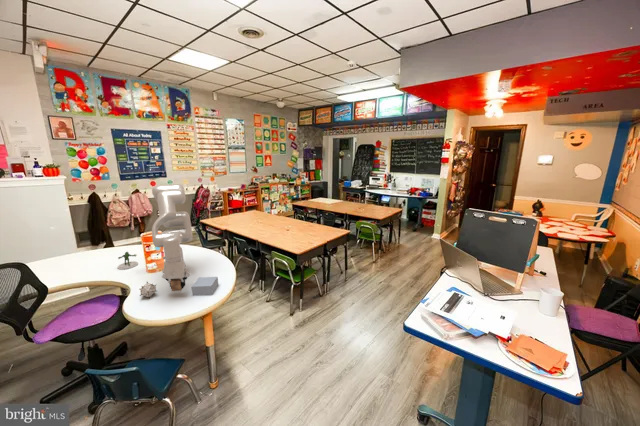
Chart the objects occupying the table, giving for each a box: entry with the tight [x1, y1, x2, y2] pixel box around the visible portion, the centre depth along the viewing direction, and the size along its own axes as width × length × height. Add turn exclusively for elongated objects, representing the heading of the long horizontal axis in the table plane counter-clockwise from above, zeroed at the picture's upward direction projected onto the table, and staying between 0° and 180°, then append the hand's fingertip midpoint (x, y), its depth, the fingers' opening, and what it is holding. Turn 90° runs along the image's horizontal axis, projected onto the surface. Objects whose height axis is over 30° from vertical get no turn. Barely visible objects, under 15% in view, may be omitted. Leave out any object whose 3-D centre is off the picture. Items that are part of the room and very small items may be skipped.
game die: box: [138, 281, 157, 299], centre depth 142 cm, size 9×8×10 cm
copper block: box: [169, 279, 183, 292], centre depth 141 cm, size 5×5×6 cm
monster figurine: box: [116, 251, 139, 271], centre depth 179 cm, size 12×12×10 cm
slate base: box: [191, 276, 219, 297], centre depth 148 cm, size 11×11×6 cm
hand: (178, 287), depth 142 cm, fingers closed on copper block, 4 cm apart
